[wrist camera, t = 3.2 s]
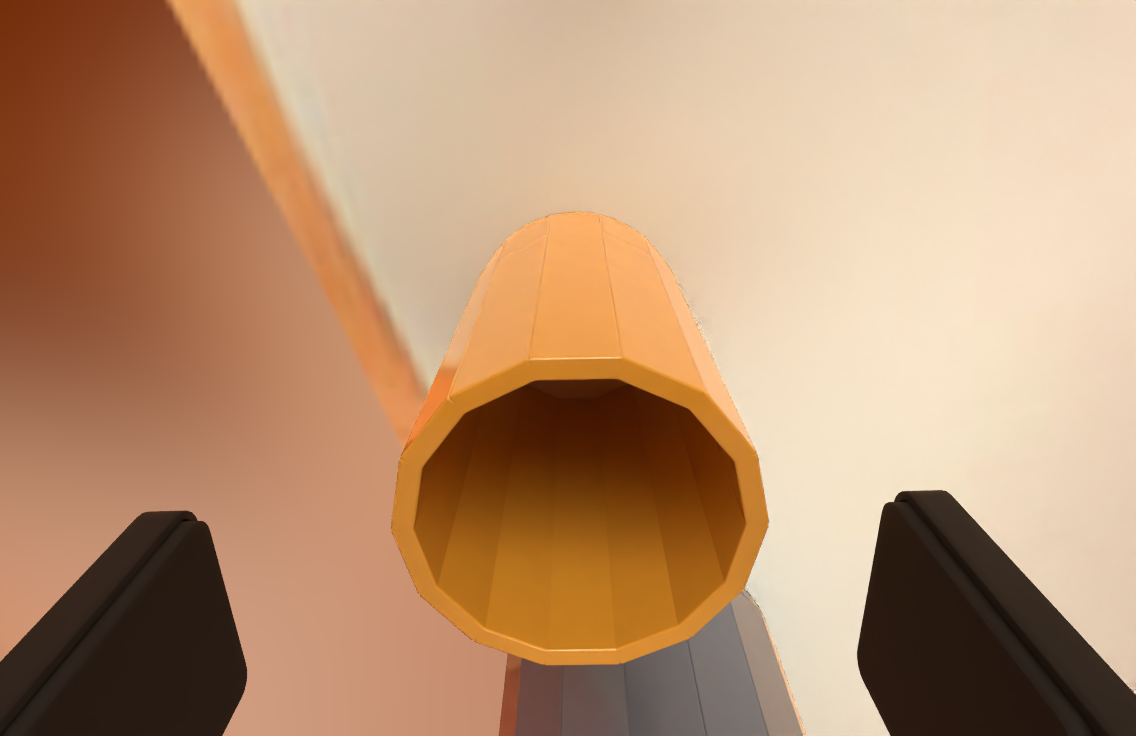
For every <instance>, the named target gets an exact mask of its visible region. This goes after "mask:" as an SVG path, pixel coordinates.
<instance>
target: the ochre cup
mask: <svg viewBox="0 0 1136 736" xmlns="http://www.w3.org/2000/svg"><path fill="white" fill-rule="evenodd" d="M768 523H769V519H768V513H767V507H766V501H765V495H764V489H763V483H762V477H761V471H760V465H759V459H758V454H757V452H756V450H755V448H754V446H753V443H752V441H751V439H750V437H749V435H748V433H747V431H746V428H745V426H744V424H743V422H742V420H741V418H740V416H739V413H738V411H737V409H736V407H735V405H734V403H733V401H732V399H731V396H730V394H729V392H728V390H727V388H726V386H725V384H724V381H723V379H722V377H721V375H720V373H719V371H718V369H717V366H716V364H715V362H714V360H713V358H712V356H711V354H710V352H709V349H708V347H707V345H706V343H705V341H704V339H703V337H702V334H701V332H700V330H699V328H698V326H697V324H696V322H695V319H694V317H693V315H692V313H691V311H690V309H689V307H688V304H687V302H686V300H685V298H684V296H683V294H682V292H681V290H680V287H679V285H678V283H677V281H676V279H675V277H674V275H673V272H672V270H671V269H670V268H669V267H668V265H667V264H666V263H665V261H664V260H663V258H662V257H661V255H660V254H659V252H658V251H657V250H656V249H655V247H654V246H653V245H652V244H651V243H650V242H649V241H648V240H647V239H646V238H645V237H644V236H643V235H642V234H640V233H639V232H638V231H636V230H634V229H633V228H631V227H630V226H628V225H627V224H624V223H622V222H620V221H618V220H616V219H613V218H610V217H607V216H604V215H600V214H594V213H588V212H568V213H559V214H555V215H550V216H546V217H544V218H541V219H538V220H535V221H533V222H531V223H529V224H528V225H526V226H524V227H522V228H521V229H519V230H518V231H516V232H515V233H514V234H512V235H511V236H510V237H508V238H507V239H506V240H505V241H504V243H502V244H501V246H500V247H499V248H498V249H497V251H496V252H495V253H494V254H493V256H492V258H491V259H490V261H489V263H488V264H487V266H486V267H485V269H484V270H483V271H482V273H481V274H480V276H479V278H478V281H477V283H476V285H475V288H474V290H473V292H472V294H471V297H470V299H469V301H468V304H467V306H466V308H465V311H464V313H463V315H462V317H461V320H460V322H459V324H458V327H457V329H456V331H455V334H454V336H453V338H452V340H451V343H450V345H449V347H448V350H447V352H446V354H445V356H444V359H443V361H442V363H441V366H440V368H439V370H438V373H437V375H436V377H435V379H434V382H433V384H432V386H431V389H430V391H429V393H428V396H427V398H426V400H425V402H424V405H423V407H422V409H421V412H420V414H419V416H418V418H417V421H416V423H415V425H414V428H413V430H412V432H411V435H410V437H409V439H408V441H407V444H406V446H405V448H404V451H403V453H402V455H401V458H400V460H399V466H398V474H397V482H396V490H395V499H394V507H393V515H392V524H391V529H392V534H393V536H394V539H395V541H396V543H397V545H398V548H399V550H400V552H401V555H402V557H403V559H404V562H405V564H406V566H407V569H408V571H409V573H410V576H411V578H412V580H413V583H414V585H415V587H416V589H417V592H418V593H419V594H420V596H421V597H422V598H423V599H424V600H426V601H427V602H428V603H429V604H430V605H431V606H433V607H434V608H435V609H436V610H437V611H439V612H440V613H441V614H442V615H443V616H444V617H445V618H447V619H448V620H449V621H450V622H452V623H453V624H454V625H455V626H456V627H457V628H458V629H459V630H461V631H462V632H463V633H464V634H465V635H466V636H468V637H469V638H470V639H471V640H474V641H475V642H477V643H480V644H483V645H486V646H489V647H491V648H494V649H497V650H500V651H503V652H506V653H509V654H512V655H515V656H518V657H521V658H524V659H527V660H530V661H533V662H535V663H538V664H541V665H544V664H545V665H618V664H620V663H621V664H623V663H626V662H628V661H631V660H634V659H637V658H639V657H642V656H645V655H647V654H650V653H653V652H655V651H658V650H661V649H664V648H666V647H669V646H672V645H674V644H677V643H680V642H682V641H685V640H688V639H689V638H690V637H693V636H694V635H695V634H696V633H697V632H698V631H699V630H700V629H701V628H703V627H704V626H705V625H706V624H707V623H708V622H709V621H710V620H711V619H712V618H714V617H715V616H716V615H717V614H718V613H719V612H720V611H721V610H722V609H723V608H724V607H726V606H727V605H728V604H729V603H730V602H731V601H732V600H733V599H734V598H735V597H737V596H738V595H739V594H740V593H741V592H742V591H743V589H744V588H745V586H746V583H747V580H748V578H749V575H750V573H751V570H752V567H753V565H754V562H755V560H756V557H757V554H758V552H759V549H760V547H761V544H762V541H763V539H764V536H765V534H766V531H767V528H768Z"/></svg>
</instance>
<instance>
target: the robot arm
mask: <svg viewBox="0 0 1136 736" xmlns="http://www.w3.org/2000/svg"><path fill="white" fill-rule="evenodd" d="M857 660H858V666H859V670H860V674H861V677H862V679H863V681H864V683H865V685H866V687H867V689H868V691H869V693H870V695H871V697H872V699H873V701H874V703H875V705H876V707H877V709H878V711H879V713H880V715H881V717H882V719H883V721H884V723H885V725H886V727H887V729H888V731H889V733H890V735H891V736H1136V695H1135V694H1134V693H1133V691H1132V690H1131V689H1130V688H1129V687H1128V686H1127V685H1126V684H1125V683H1124V682H1123V681H1122V680H1121V678H1120V677H1119V676H1118V675H1117V674H1116V673H1115V672H1114V671H1113V670H1112V669H1111V668H1110V667H1109V665H1108V664H1107V663H1106V662H1105V661H1104V660H1103V659H1102V658H1101V657H1100V656H1099V655H1098V654H1097V652H1096V651H1095V650H1094V649H1093V648H1092V647H1091V646H1090V645H1089V644H1088V643H1087V642H1086V641H1085V639H1084V638H1083V637H1082V636H1081V635H1080V634H1079V633H1078V632H1077V631H1076V630H1075V629H1074V628H1073V626H1072V625H1071V624H1070V623H1069V622H1068V621H1067V620H1066V619H1065V618H1064V617H1063V616H1062V615H1061V613H1060V612H1059V611H1058V610H1057V609H1056V608H1055V607H1054V606H1053V605H1052V604H1051V603H1050V602H1049V600H1048V599H1047V598H1046V597H1045V596H1044V595H1043V594H1042V593H1041V592H1040V591H1039V590H1038V589H1037V587H1036V586H1035V585H1034V584H1033V583H1032V582H1031V581H1030V580H1029V579H1028V578H1027V577H1026V576H1025V574H1024V573H1023V572H1022V571H1021V570H1020V569H1019V568H1018V567H1017V566H1016V565H1015V564H1014V563H1013V561H1012V560H1011V559H1010V558H1009V557H1008V556H1007V555H1006V554H1005V553H1004V552H1003V551H1002V550H1001V548H1000V547H999V546H998V545H997V544H996V543H995V542H994V541H993V540H992V539H991V538H990V537H989V535H988V534H987V533H986V532H985V531H984V530H983V529H982V528H981V527H980V526H979V525H978V524H977V522H976V521H975V520H974V519H973V518H972V517H971V516H970V515H969V514H968V513H967V512H966V511H965V509H964V508H963V507H962V506H961V505H960V504H959V503H958V502H957V501H956V500H955V499H954V498H953V496H952V495H950V494H949V493H948V492H947V491H942V490H933V491H902V492H900V493H898V495H897V496H896V498H895V501H894V502H888V503H886V504H885V506H884V507H883V510H882V515H881V520H880V526H879V532H878V537H877V543H876V548H875V554H874V560H873V565H872V571H871V576H870V582H869V587H868V593H867V599H866V604H865V610H864V615H863V621H862V627H861V632H860V638H859V643H858V650H857ZM246 681H247V667H246V662H245V659H244V655H243V651H242V648H241V644H240V640H239V637H238V633H237V629H236V626H235V622H234V618H233V615H232V611H231V607H230V603H229V599H228V596H227V592H226V589H225V585H224V581H223V578H222V574H221V570H220V566H219V563H218V559H217V555H216V551H215V548H214V544H213V541H212V537H211V533H210V530H209V527H208V525H207V524H206V523H205V522H203V521H197V518H196V516H195V515H194V514H193V513H192V512H189V511H159V512H145V513H142V514H141V515H140V516H138V517H137V518H136V519H135V520H134V521H133V522H132V523H131V524H130V525H129V526H128V527H127V529H126V530H125V531H124V532H123V533H122V534H121V535H120V536H119V537H118V538H117V539H116V540H115V541H114V542H113V543H112V544H111V545H110V547H109V548H108V549H107V550H106V551H105V552H104V553H103V554H102V555H101V556H100V557H99V558H98V559H97V560H96V561H95V563H94V564H93V565H91V567H90V568H89V569H88V570H87V571H86V572H85V573H84V574H83V575H82V576H81V577H80V578H79V580H77V581H76V582H75V584H74V585H73V586H72V587H71V588H70V589H69V590H68V591H67V592H66V593H65V594H64V595H63V596H62V597H61V598H60V599H59V600H58V602H57V603H56V604H55V605H54V606H53V607H52V608H51V609H50V610H49V611H48V612H47V613H46V614H45V615H44V616H43V617H42V618H41V619H40V621H39V622H38V623H37V624H36V625H35V626H34V627H33V628H32V629H31V630H30V631H29V632H28V633H27V635H25V636H24V637H23V638H22V639H21V641H20V642H19V643H18V644H17V645H16V646H15V647H14V648H13V649H12V650H11V651H10V652H9V654H7V655H6V656H5V657H4V659H3V660H2V661H1V662H0V736H222V735H223V733H224V731H225V729H226V727H227V725H228V723H229V721H230V719H231V717H232V715H233V713H234V711H235V709H236V707H237V706H238V704H239V702H240V700H241V697H242V695H243V693H244V690H245V686H246Z"/></svg>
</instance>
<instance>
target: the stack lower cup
mask: <svg viewBox="0 0 1136 736" xmlns="http://www.w3.org/2000/svg"><path fill="white" fill-rule="evenodd" d="M499 736H807V735H806V732H805V729H804V726H803V723H802V720H801V717H800V715H799V712H798V709H797V706H796V703H795V700H794V697H793V694H792V691H791V689H790V686H789V683H788V680H787V677H786V674H785V671H784V668H783V665H782V663H781V660H780V657H779V654H778V651H777V648H776V645H775V643H774V641H773V638H772V636H771V634H770V631H769V629H768V626H767V623H766V620H765V618H764V616H763V614H762V612H761V610H760V608H759V606H758V605H757V604H756V602H755V601H754V600H753V598H752V597H751V596H750V595H749V594H748V593H747V592H746V591H745V590H744V589H743V591H742V592H741V593H740V594H739V595H738V596H737V597H735V598H734V599H733V600H732V601H731V602H730V603H729V604H728V605H727V606H726V607H724V608H723V609H722V610H721V611H720V612H719V613H718V614H717V615H716V616H715V617H714V618H712V619H711V620H710V621H709V622H708V623H707V624H706V625H705V626H704V627H703V628H701V629H700V630H699V631H698V632H697V633H696V634H695V635H694V636H693V637H690V638H689V639H688V640H685V641H682V642H680V643H677V644H674V645H672V646H669V647H666V648H664V649H661V650H658V651H655V652H653V653H650V654H647V655H645V656H642V657H639V658H637V659H634V660H631V661H628V662H626V663H623V664H621V663H620V664H618V665H545V664H544V665H541V664H538V663H535V662H533V661H530V660H527V659H524V658H521V657H518V656H515V655H512V654H509V653H508V657H507V667H506V676H505V685H504V695H503V703H502V712H501V720H500V730H499Z"/></svg>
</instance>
